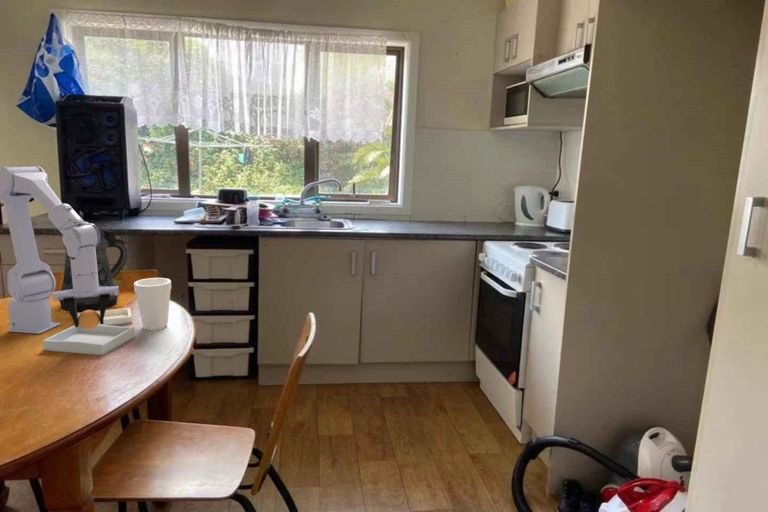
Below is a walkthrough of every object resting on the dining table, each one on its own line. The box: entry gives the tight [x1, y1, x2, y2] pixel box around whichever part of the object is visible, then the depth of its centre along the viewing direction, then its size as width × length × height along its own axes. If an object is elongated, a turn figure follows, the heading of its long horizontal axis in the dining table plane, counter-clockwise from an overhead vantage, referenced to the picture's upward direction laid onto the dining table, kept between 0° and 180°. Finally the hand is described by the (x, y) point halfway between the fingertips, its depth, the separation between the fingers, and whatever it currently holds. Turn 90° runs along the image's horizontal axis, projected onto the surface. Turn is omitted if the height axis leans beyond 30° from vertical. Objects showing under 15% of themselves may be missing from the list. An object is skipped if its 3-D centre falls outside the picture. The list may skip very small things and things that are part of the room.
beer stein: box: [58, 227, 129, 313], centre depth 167 cm, size 16×19×25 cm
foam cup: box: [133, 277, 172, 331], centre depth 150 cm, size 10×9×13 cm
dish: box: [77, 307, 133, 326], centre depth 154 cm, size 14×9×2 cm
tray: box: [42, 324, 135, 356], centre depth 137 cm, size 16×13×3 cm
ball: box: [78, 310, 100, 330], centre depth 136 cm, size 5×5×5 cm
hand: (89, 324), depth 136 cm, fingers closed on ball, 5 cm apart
